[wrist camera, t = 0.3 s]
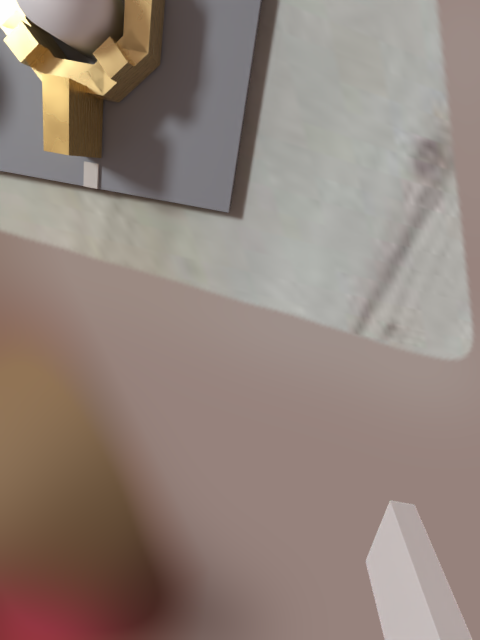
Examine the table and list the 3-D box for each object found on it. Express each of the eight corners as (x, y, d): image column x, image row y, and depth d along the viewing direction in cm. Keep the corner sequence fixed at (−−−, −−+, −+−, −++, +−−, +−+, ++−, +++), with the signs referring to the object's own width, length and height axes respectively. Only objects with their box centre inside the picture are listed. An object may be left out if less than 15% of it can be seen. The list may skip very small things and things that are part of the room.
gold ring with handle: (22, -85, 26) (-38, -147, 21) (169, -60, 26) (145, -115, 21) (29, 145, 32) (-17, 139, 27) (152, 167, 32) (129, 166, 27)
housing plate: (-69, -222, 25) (-197, -371, 18) (286, -161, 25) (292, -288, 18) (-34, 162, 34) (-113, 160, 27) (229, 211, 34) (219, 221, 27)
